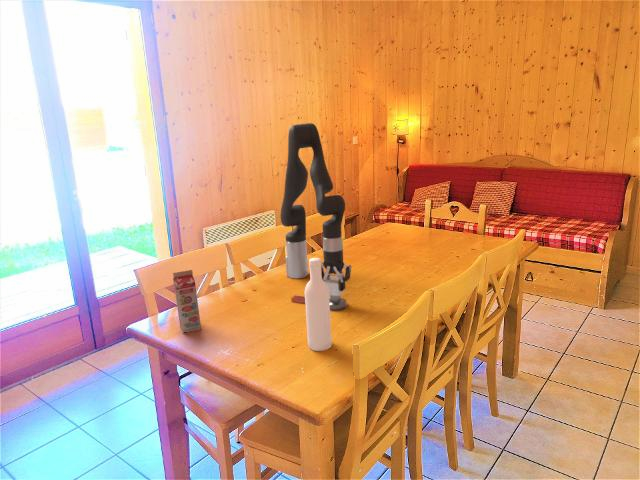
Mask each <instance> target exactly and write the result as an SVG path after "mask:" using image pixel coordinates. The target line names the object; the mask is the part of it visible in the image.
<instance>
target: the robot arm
mask: <svg viewBox="0 0 640 480" xmlns="http://www.w3.org/2000/svg"><path fill="white" fill-rule="evenodd" d="M287 135H288V136H287V137H288V138H287V139H288V140H287V143H288V144H287V164H286V169H285V170H286V171H285V181H284V192H283V197H282V198H283V199H282V203H281V208H280V223H281V225H282V226H283V227H294V228H293V229H292V230H291V231H289V232H287V233H286V234H285V245H286V256H285V269H286V277H289V278H291V279H303V278H306V277H308V276H309V262H308V261H309V260H308V249H307V248H308V246H307V222H306V221H307V220H306V219H307V215H306V214H307V213H306V210H305V207H304V205H302V204H295V202H296V201H297V200H298V199H299V197H300V196H301V195H302V194H303V193H304V191H305V190H306V188H307V185H308V178H309V177H310V180H311V182H312V185H313V189H314V191H315V192H314V193H315V200H316V201H315V203H316V204H315V205H316V210H317V212H318V214H319V215H321V216H322V217H327V216H331V217H330V219H328V220H326V221H324V222H323V223H322V250H323V251H322V252H323V253H322V254H323V262H321V274H322V280H323V281H324V282H325V279H326V278H328V277H329V276H330V275H336V276H337V277H339V279H340V291H343V290H345V289H346V282H348V281H350V280H351V272H352V265H351V264H349V265H347V264H345V262H344V243H343V237H342V224H343V219H344V216H345V210H346V202H345V199H344V197H342V195H340V194H334V195H327V194H329V193H330V192H332V190H333V189H334V183H333V181H332V179H331V176H330V173H329V171H328V168H327V165H326V161H325V155H324V149H323V146H322V142H321V137H320V134H319V130H318V128H317V125H315V123H312V122H310V123H309V122H308V123H307V122H306V123H300V124H298V123H297V124H292V125H291V126H290V127H289V130H288V134H287ZM307 148H311V149H312V152H313V154H312V155H313V157H312V160H311V165H310V168H309V172H308V168H307V167H306V165H305V163H304V162H303V161H302V160H301V158H300V156H299V152H300V149H307ZM326 195H327V196H326ZM324 269H325V270H324ZM343 269H344V270H343ZM324 271H325V272H324ZM344 271H345V272H344ZM344 273H345V274H344Z"/></svg>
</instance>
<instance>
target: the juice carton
mask: <svg viewBox="0 0 640 480" xmlns="http://www.w3.org/2000/svg"><path fill="white" fill-rule="evenodd" d="M193 274H194V272H193V269H190V270H189V269H188V270H183V271H178V272H177V271H176V272H172V275H173V279H172V280H173V287H174V288H173V289H174V293H175V302H176V308H177V315H178V321H179V323H178V324H179V328H180V327H181V328H180V331H181V333H182V332H183V333H182V334H185V333H184V332H187V333H191V332H190V331H192V332H195V330H196V331H199V330H202V325H201V317H200V310H199V302H198V296H197V295H198V294H197V293H198V292H197V286H196V281H195V277H194V275H193Z"/></svg>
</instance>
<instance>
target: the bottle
mask: <svg viewBox="0 0 640 480" xmlns="http://www.w3.org/2000/svg"><path fill="white" fill-rule="evenodd" d="M308 261H309V262H308V267H309V276H310V279H309V281H308V282H307V283H306V285H305V288H304V297H305V304H304V305H305V318H306V319H305V320H306V331H307V332H306V333H307V334H306V335H307V345H308V346H307V347H308V348H309V350H312V351H315V352H323V351H327V350H328V349H330V348H331V347H332V345H333V343H332V341H333V338H332V324H331V310H330V301H329V299H330V295H329V289H328V286H327V284H326V282H324V279H322V274H321V263H322V259H321V258H319V257H313V258H309V260H308Z"/></svg>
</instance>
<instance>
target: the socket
mask: <svg viewBox="0 0 640 480" xmlns="http://www.w3.org/2000/svg"><path fill="white" fill-rule="evenodd" d="M325 282H326V284H327V286H328V289H329V296H330V295H333V296H341V295H342V294H343V293H344V292H345V289H344V290H343V291H340V279H339V277H337V275H336V274H330V276H329V277H328V278H326V279H325Z"/></svg>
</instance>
